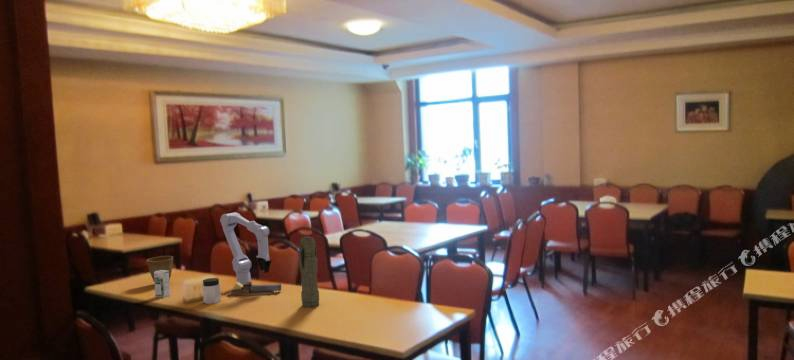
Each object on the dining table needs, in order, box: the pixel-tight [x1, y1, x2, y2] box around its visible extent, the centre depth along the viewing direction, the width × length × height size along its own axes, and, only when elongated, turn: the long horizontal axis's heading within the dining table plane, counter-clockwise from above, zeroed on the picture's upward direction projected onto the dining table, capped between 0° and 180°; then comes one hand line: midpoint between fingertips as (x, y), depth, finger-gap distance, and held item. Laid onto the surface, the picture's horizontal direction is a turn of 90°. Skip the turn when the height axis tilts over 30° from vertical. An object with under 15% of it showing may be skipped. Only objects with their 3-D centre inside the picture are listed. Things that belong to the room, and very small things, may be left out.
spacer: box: [231, 281, 243, 290], centre depth 326 cm, size 4×4×4 cm
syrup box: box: [153, 270, 171, 299], centre depth 327 cm, size 6×6×14 cm
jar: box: [202, 277, 222, 305], centre depth 311 cm, size 9×8×12 cm
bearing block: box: [226, 281, 275, 297], centre depth 326 cm, size 10×24×6 cm, turn 89°
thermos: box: [297, 236, 320, 308], centre depth 296 cm, size 9×12×35 cm
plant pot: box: [146, 255, 174, 284], centre depth 356 cm, size 15×15×16 cm
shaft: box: [249, 283, 282, 292], centre depth 326 cm, size 3×19×3 cm, turn 89°
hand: (264, 271), depth 334 cm, fingers open, 7 cm apart
